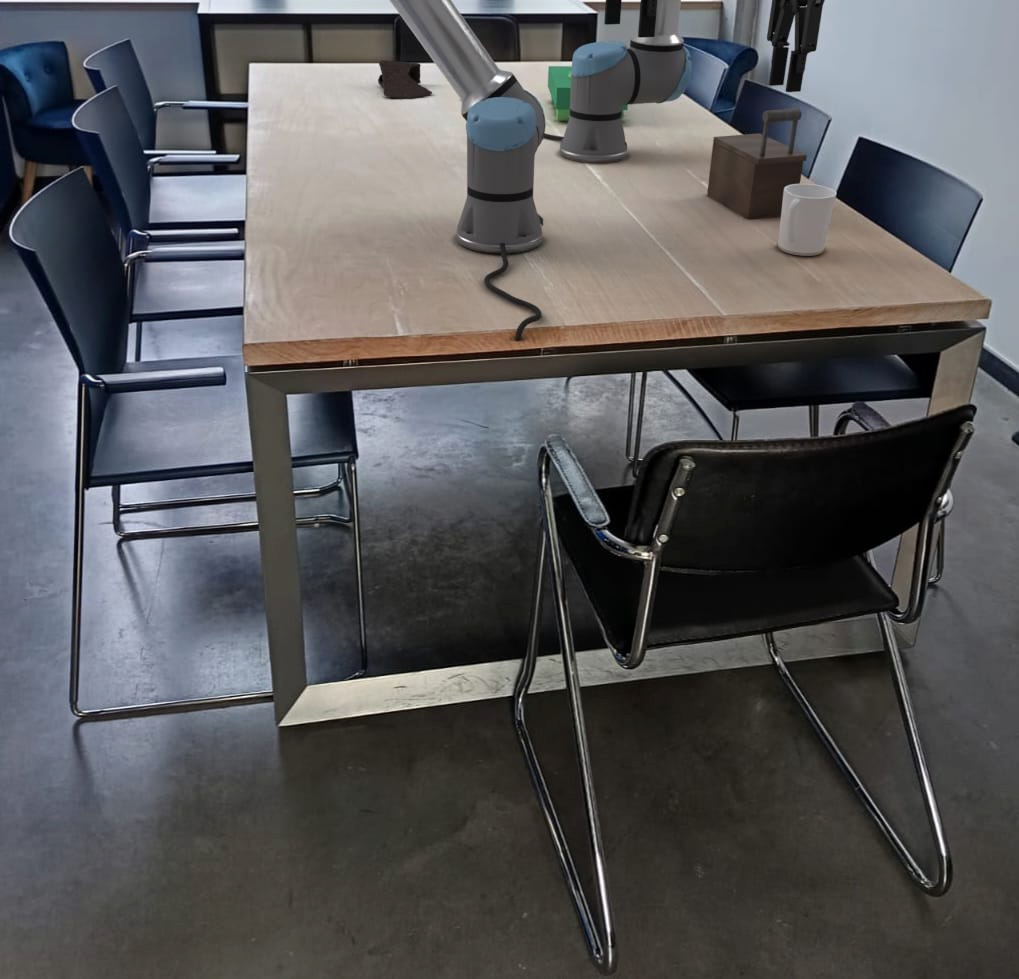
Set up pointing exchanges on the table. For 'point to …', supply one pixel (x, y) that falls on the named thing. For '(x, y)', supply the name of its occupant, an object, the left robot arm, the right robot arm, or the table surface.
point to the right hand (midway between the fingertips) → (784, 87)
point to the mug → (805, 218)
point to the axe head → (401, 79)
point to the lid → (765, 141)
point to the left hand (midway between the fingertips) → (628, 30)
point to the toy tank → (562, 91)
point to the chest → (750, 183)
